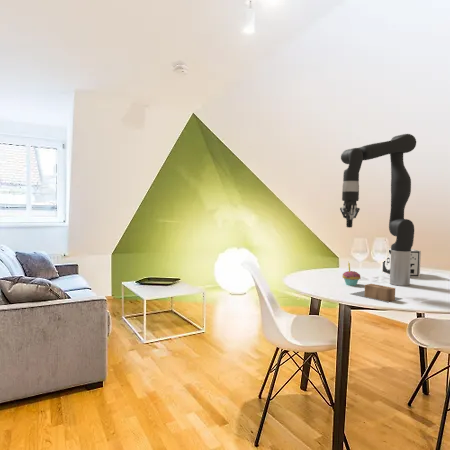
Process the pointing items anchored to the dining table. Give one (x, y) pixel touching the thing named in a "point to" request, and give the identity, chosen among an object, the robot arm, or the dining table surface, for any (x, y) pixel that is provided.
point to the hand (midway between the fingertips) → (349, 227)
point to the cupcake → (351, 277)
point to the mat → (371, 298)
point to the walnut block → (380, 292)
